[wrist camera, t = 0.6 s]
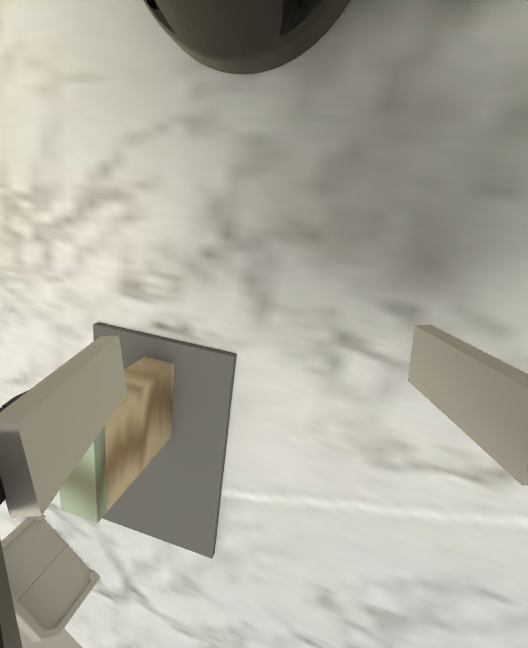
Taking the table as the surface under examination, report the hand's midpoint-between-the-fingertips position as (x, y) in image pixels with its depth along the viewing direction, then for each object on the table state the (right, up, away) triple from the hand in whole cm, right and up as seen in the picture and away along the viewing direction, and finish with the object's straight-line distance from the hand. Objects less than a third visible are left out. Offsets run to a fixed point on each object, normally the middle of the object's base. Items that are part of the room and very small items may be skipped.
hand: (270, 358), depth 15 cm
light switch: (-26, -27, +28) cm, 47 cm away
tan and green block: (-10, -6, +17) cm, 20 cm away
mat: (-11, -11, +19) cm, 24 cm away
